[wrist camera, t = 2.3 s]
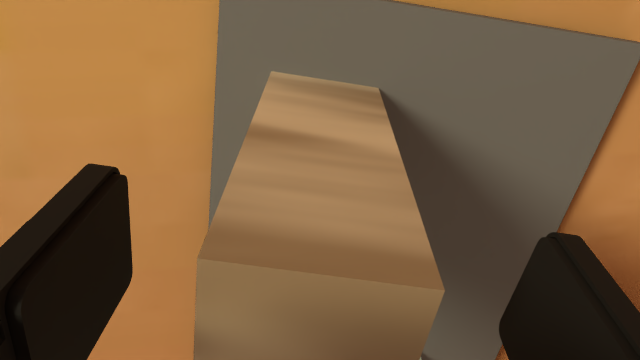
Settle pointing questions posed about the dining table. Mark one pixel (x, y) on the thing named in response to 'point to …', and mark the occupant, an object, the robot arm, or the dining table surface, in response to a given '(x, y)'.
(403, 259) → the light wood block
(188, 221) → the dining table surface
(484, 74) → the mat
